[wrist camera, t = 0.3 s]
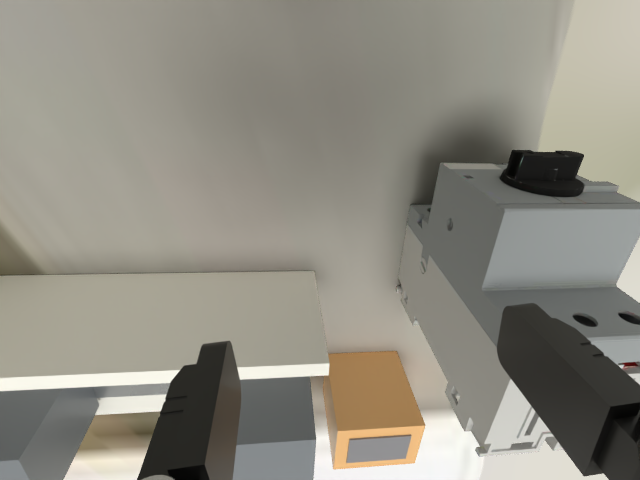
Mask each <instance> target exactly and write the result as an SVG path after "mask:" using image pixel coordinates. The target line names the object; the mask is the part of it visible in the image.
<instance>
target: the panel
mask: <svg viewBox="0 0 640 480" xmlns="http://www.w3.org/2000/svg"><path fill="white" fill-rule="evenodd" d="M222 341H230V342H231V344H232V347H233V352H234V356H235V360H236V365H237V369H238V373H239V378H240V380H242V379H263V378H284V377H305V376H325V375H329V364H330V363H329V357H328V351H327V345H326V339H325V333H324V326H323V320H322V314H321V308H320V302H319V296H318V290H317V284H316V278H315V272H314V271H274V272H208V273H142V274H76V275H9V276H0V391H15V390H35V389H56V388H77V387H98V386H118V385H139V384H160V383H171V381H172V380H173V378H174V377H175V376H176V375H177V373H178V372H179V371H180V370H181V369H182V367H183V366H184V365H192V364H196V363H197V360H198V356H199V353H200V349H201V346H202V345H203V344H206V343H214V342H222ZM166 395H167V394H164V395H145V396H125V397H106V398H97V400H98V403H99V407H98V410H97V412H96V414H95V415H102V414H120V413H138V412H155V411H161V409H162V406H163V404H164V402H165V398H166Z"/></svg>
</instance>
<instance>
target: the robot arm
mask: <svg viewBox="0 0 640 480" xmlns="http://www.w3.org/2000/svg"><path fill="white" fill-rule="evenodd" d="M497 354H498V358H499V361H500V364H501V365H502V367H503V369H504V370H505V371H506V373H507V374H508V375H509V377H510V378H511V379H512V381H513V382H514V383H515V385H516V386H517V387H518V389H519V390H520V392H521V393H522V394H523V396H524V397H525V398H526V400H527V401H528V402H529V404H530V405H531V406H532V408H533V409H534V410H535V412H536V413H537V414H538V416H539V417H540V418H541V420H542V421H543V422H544V424H545V425H546V426H547V428H548V429H549V430H550V432H551V433H552V434H553V436H554V437H555V438H556V440H557V441H558V442H559V444H560V445H561V446H562V448H563V449H564V450H565V452H566V453H567V454H568V456H569V457H570V458H571V460H572V461H573V462H574V464H575V465H576V466H577V468H578V469H579V470H580V472H581V473H582V474H583V476H589V475H596V474H602V473H604V474H605V475H606V477H607V478H608V479H609V480H640V385H639V384H638V383H637V382H636V381H635V380H634V379H633V378H632V377H630V376H629V375H628V374H627V373H626V372H625V371H624V370H622V369H621V368H620V367H619V366H618V365H617V364H616V363H614V362H613V361H612V360H611V359H610V358H609V357H608V356H604V353H603V352H602V351H601V350H600V349H598V348H597V347H596V346H595V345H592V344H591V341H589V340H588V339H587V338H586V337H585V336H584V335H583V334H581V333H580V332H579V331H578V330H577V329H576V328H574V327H572V326H570V325H568V324H566V323H564V322H563V321H561V320H559V319H557V318H551V317H550V316H549V315H548V314H547V313H546V312H545V311H544V310H542V309H541V308H540V307H539V306H538V305H537V304H535V303H526V304H519V305H511V306H506V307H505V308H504V310H503V313H502V319H501V325H500V331H499V337H498V342H497ZM240 409H241V383H240V378H239V373H238V369H237V365H236V360H235V356H234V352H233V347H232V344H231V342H230V341H222V342H214V343H206V344H203V345H202V346H201V349H200V353H199V356H198V360H197V363H196V364H192V365H184V366H183V367H182V369H181V370H180V371H179V372H178V373H177V375H176V376H175V377H174V378H173V380H172V381H171V383H170V386H169V389H168V392H167V395H166V398H165V402H164V404H163V406H162V409H161V412H160V417H159V418H158V421H157V424H156V427H155V430H154V433H153V436H152V439H151V441H150V444H149V447H148V450H147V453H146V456H145V459H144V462H143V465H142V468H141V471H140V474H139V476H138V478H137V480H233V472H234V463H235V454H236V445H237V436H238V427H239V418H240Z"/></svg>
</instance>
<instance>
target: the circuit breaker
mask: <svg viewBox="0 0 640 480" xmlns="http://www.w3.org/2000/svg"><path fill="white" fill-rule="evenodd" d="M583 157H584V155H583V154H581V153H577V152H572V151H556V152H533V151H531V150H512V152H511V155H510V159H509V162H508V163H502V164H501V165H495V164H494V163H440V166H439V171H438V176H437V181H436V186H435V191H434V196H433V201H432V205H410V209H409V215H408V221H407V227H406V233H405V239H404V245H403V251H402V257H401V262H400V268H399V274H398V279H399V281H400V282H401V286H396V292H397V293H402V299H401V302H402V304H403V306H404V308H405V310H406V312H407V314H408V316H409V318H410V321H411V323H412V325H420V327H421V329H422V331H423V333H424V335H425V337H426V339H427V341H428V343H429V345H430V347H431V349H432V351H433V353H434V355H435V357H436V359H437V361H438V363H439V365H440V367H441V369H442V371H443V373H444V375H445V377H446V379H447V381H448V384H447V388H446V391H445V393H446V395H447V397H448V399H449V401H450V403H451V405H452V408H453V410H454V412H455V414H456V416H457V418H458V420H459V422H460V424H461V426H462V428H463V429H464V431H472V433H473V435H474V437H475V438H476V440H477V442H478V443H479V445H480V447H477V448H476V450H475V451H476V452H477V454H478V456H479V457H482V456H493V455H505V454H518V453H530V452H539V450H540V448H541V446H542V444H543V442H544V441H546V442H547V443H548V445H549V446H550V447H551V449H552V450H564V449H563V448H562V446H561V445H560V444H559V442H558V441H557V440H556V438H555V437H554V436H553V434H552V433H551V432H550V430H549V429H548V428H547V426H546V425H545V424H544V422H543V421H542V420H541V418H540V417H539V416H538V414H537V413H536V412H535V410H534V409H533V408H532V406H531V405H530V404H529V402H528V401H527V400H526V398H525V397H524V396H523V394H522V393H521V392H520V390H519V389H518V387H517V386H516V385H515V383H514V382H513V381H512V379H511V378H510V377H509V375H508V374H507V373H506V371H505V370H504V369H503V367H502V365H501V364H500V361H499V358H498V354H497V342H498V337H499V331H500V325H501V319H502V313H503V310H504V308H505V307H506V306H511V305H519V304H526V303H535V304H537V305H538V306H539V307H540V308H541V309H542V310H544V311H545V312H546V313H547V314H548V315H549V316H550V317H551V318H557V319H559V320H561V321H563V322H564V323H566V324H568V325H570V326H572V327H574V328H576V329H577V330H578V331H579V332H580V333H581V334H583V335H584V336H585V337H586V338H587V339H588V340H589V341H591V344H592V345H595V346H596V347H597V348H598V349H600V350H601V351H602V352H603V353H604V356H608V357H609V358H610V359H611V360H612V361H613V362H614V363H616V364H617V365H618V366H619V367H620V368H621V369H622V370H624V371H625V372H626V373H627V374H628V375H629V376H630V377H632V378H633V379H634V380H635V381H636V382H637V383H638V384H639V385H640V303H638V302H637V301H636V300H634V299H633V298H632V297H630V296H629V295H627V294H626V293H625V292H623V291H621V290H620V289H619V288H617V286H616V283H617V281H618V279H619V277H620V275H621V273H622V270H623V269H624V267H625V265H626V262H627V261H628V259H629V257H630V255H631V253H632V251H633V249H634V247H635V244H636V243H637V240H638V238H639V236H640V203H639V202H637V201H635V200H633V199H631V198H628V197H626V196H624V195H621V194H619V193H617V190H618V187H619V186H617V185H615V184H612V183H609V182H592V181H589V180H587V179H585V178H583V177H580V176H578V175H577V173H578V170H579V167H580V165H581V162H582V160H583ZM457 396H460V398H459V401H457V399H456V397H457ZM512 443H515V444H512Z"/></svg>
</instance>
